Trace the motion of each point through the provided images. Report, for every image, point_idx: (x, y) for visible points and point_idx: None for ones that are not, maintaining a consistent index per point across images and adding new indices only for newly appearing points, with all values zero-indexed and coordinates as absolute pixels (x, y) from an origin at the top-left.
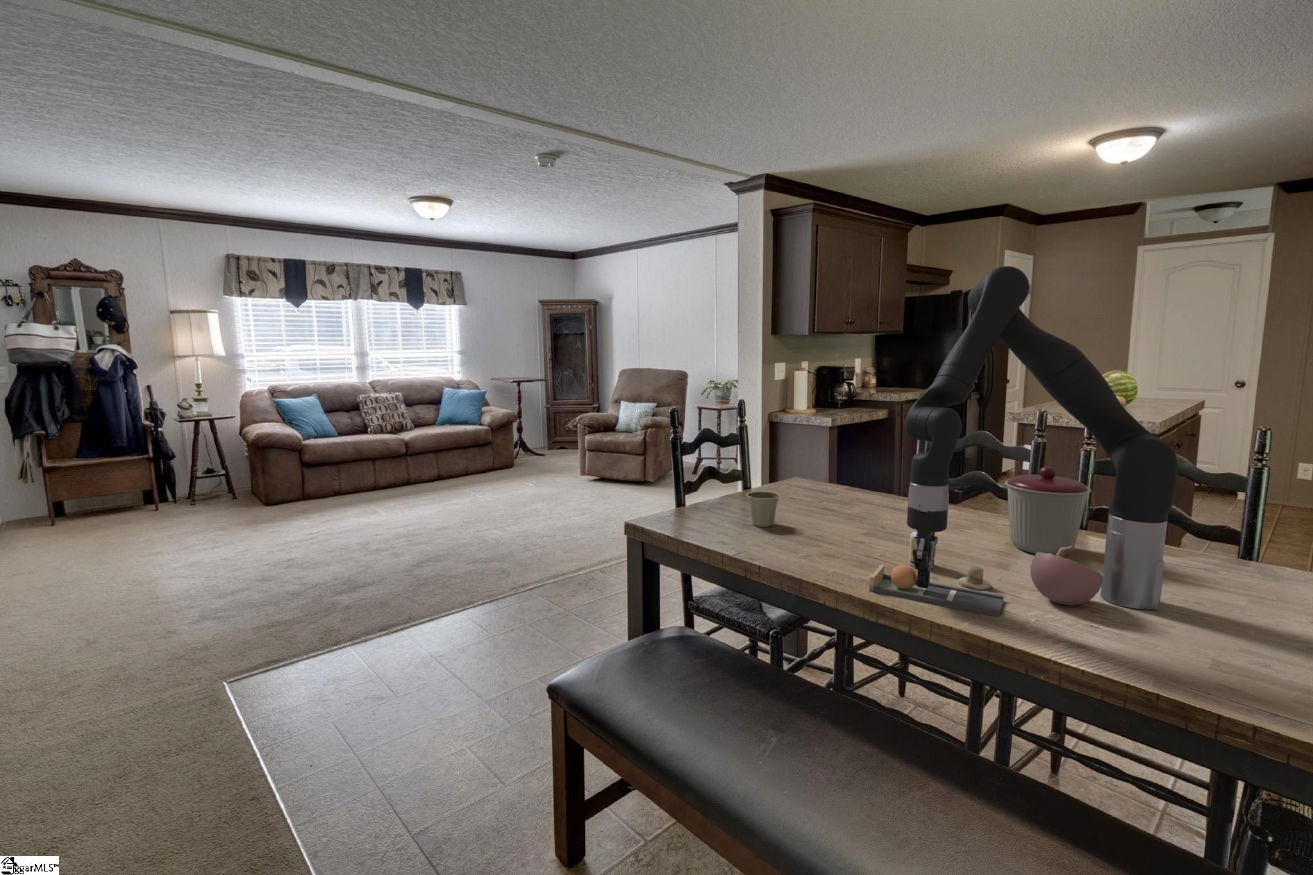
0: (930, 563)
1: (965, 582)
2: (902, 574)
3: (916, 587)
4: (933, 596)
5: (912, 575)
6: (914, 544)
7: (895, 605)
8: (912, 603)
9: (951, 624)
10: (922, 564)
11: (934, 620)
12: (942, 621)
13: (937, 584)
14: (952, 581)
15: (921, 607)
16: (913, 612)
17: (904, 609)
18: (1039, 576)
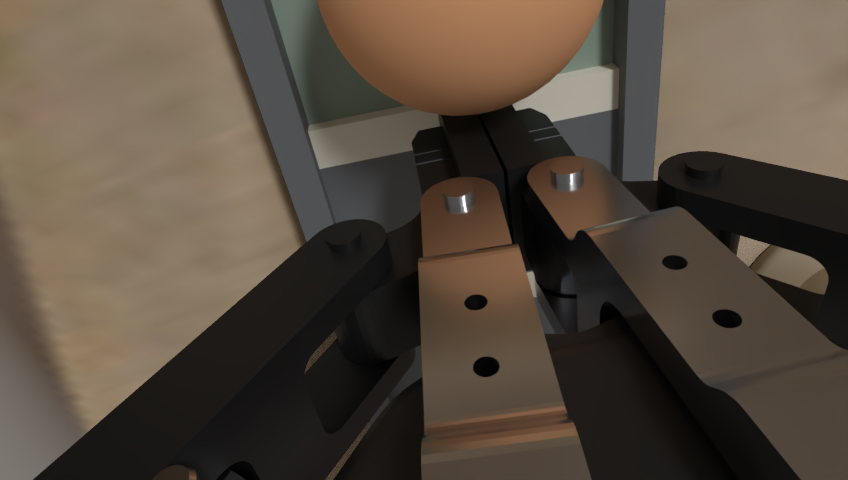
0: (554, 322)
1: (803, 266)
2: (337, 17)
3: None
4: (395, 226)
5: (418, 107)
6: (427, 464)
7: (19, 59)
8: (194, 142)
9: (102, 404)
10: (358, 338)
11: (59, 339)
12: (93, 367)
13: (638, 174)
14: (842, 173)
15: (181, 215)
16: (40, 214)
17: (22, 148)
18: None
